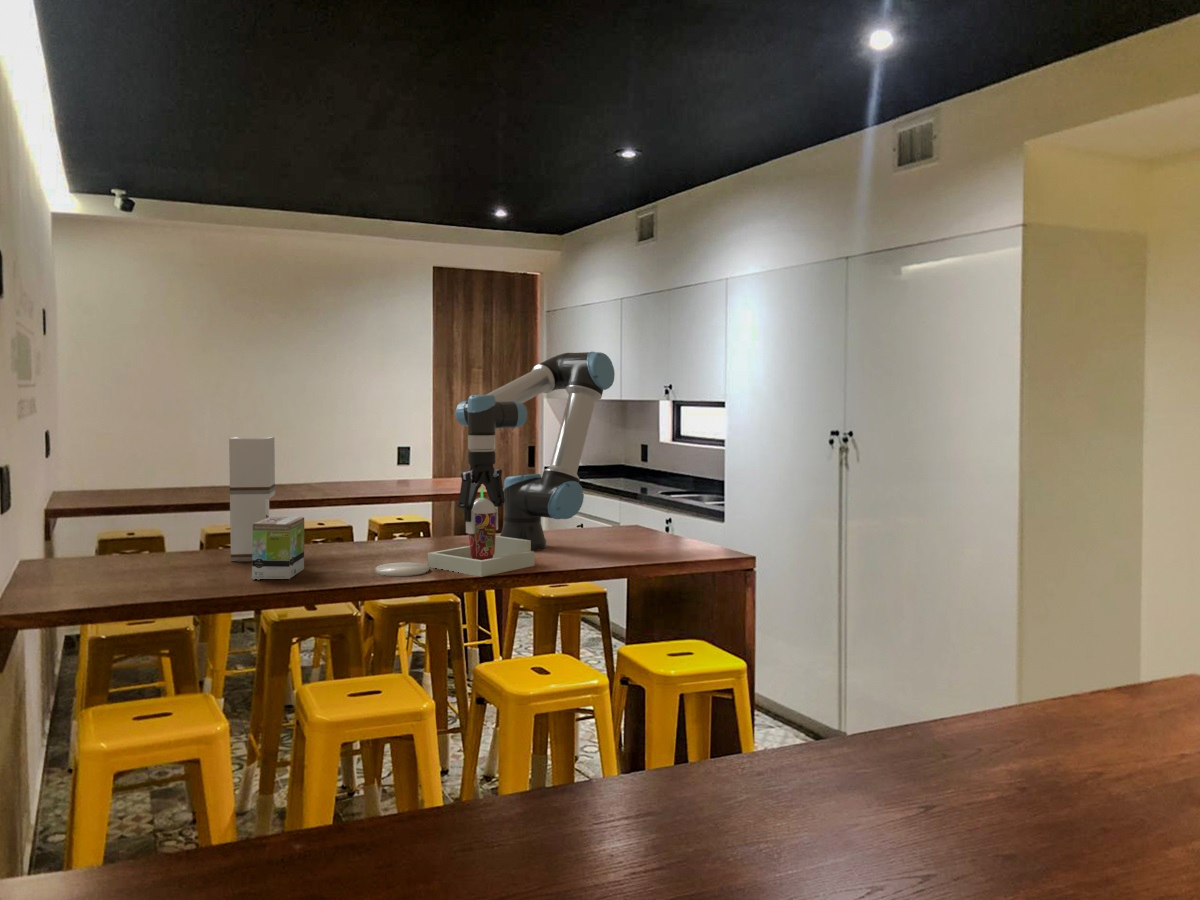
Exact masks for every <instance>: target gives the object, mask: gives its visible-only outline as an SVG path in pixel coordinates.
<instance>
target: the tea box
mask: <svg viewBox="0 0 1200 900" xmlns="http://www.w3.org/2000/svg"><path fill="white" fill-rule="evenodd" d="M304 569H305V517H301V516H299V517H298V516H269V517H268V518H265V519H263V520H260V521H258V522H256V523H253V543H252V561H251V579H252V580H255V579H257V580H258V581H260V579H289V580H290V579H291V578H293V577H294V576H295V575H297V574H299V573H300V572H302V571H303V570H304ZM257 580H256V581H257Z"/></svg>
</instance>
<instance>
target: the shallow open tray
mask: <svg viewBox="0 0 1200 900" xmlns="http://www.w3.org/2000/svg"><path fill="white" fill-rule="evenodd" d="M535 554H536V553H535V551H531V540H523V539H516V538H509V537H502V536H500V535H496V536H495V553H494V555H493V558H491V559H486V560H477V559H472V556H471V555H470V545H468V546H462V547H460V546H459V547H456V548H449V549H442V550H438V551H431V552H427V565H428V566H429V567H431V568H430V569H435V568H437V569H436V570H441V569H443V570H442V571H446V570H449V571H448V572H452V571H454V572H453V573H458V572H459V574H464V575H470V576H476V577H482V578H483V577H487V576H492V575H496V574H500V573H501V574H502V573H505V572H511V571H516V570H520V569H526V568H530V567H535V562H536V561H535V558H536V557H535Z"/></svg>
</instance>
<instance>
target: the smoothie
mask: <svg viewBox="0 0 1200 900" xmlns="http://www.w3.org/2000/svg"><path fill="white" fill-rule="evenodd" d="M472 510H475V534H469V533H468V541H469V543H468V544H469V545H468V546H470V555H471V556H472V559H477V560H486V559H491V558H493V555H494V553H495V536H497V535H496V532H497V530H496V518H497V510H496V508H495V506H494V504H493V503H492V501H490V499H489V498H486V497H484V487H480V497H477V498H476V499H475V502H474V505H473V508H472Z"/></svg>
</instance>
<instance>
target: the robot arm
mask: <svg viewBox="0 0 1200 900" xmlns="http://www.w3.org/2000/svg"><path fill="white" fill-rule="evenodd" d="M615 375H616V374H615V368H614V365H613V362H612V360H611V358H610V357H609V356H608V355H607V354H605V353H604V352H600V351H599V352H598V351H597V352H595V351H590V352H588V351H587V352H586V351H585V352H564V353H559V354H557V355H555V356H552V357H550V358H548V359H546V360H545V361H542V362H540V363H538V364H536V365H534V366H533V367H532V369H531V371H530V372H528V373H525V374H524V375H522V376H519V377H518V378H516V379H514V380H512V381H510V382H508V383H505V384H504V385H502V386H500V387H498V388H496V389H494V390H492V391H491V392H488V393H487V394H472V395H470V396H469V397H468V400H464V401H463V400H462V401H461V402H459V403H458V404H457V406H456V408H455V414H454V415H455V419H456V421H457V423H459V424H460V425H461V426H464V427H467V441H468V443H467V445H468V446H467V448H468V450H469V451H468V452H467V464H468V465H469V470H468V471H462V472H461V473H460V477H461V482H460V483H461V484H460V492H459V499H458V509H461V510H463V511H464V522H465V533H466V534H468V535H469V534H475V510H472V508H473V505H474V502H475V500H476V499H477V495H478V493H479V489H481V488H482V487H481V486H482V485H483V486H484V487H485V490H486V493H487V496H488V499H489V500H490V501H492V503H493V504H494V506H495V508H496V510H497V518H496V531H498V530H499V517H500V507H502V506H503V525H502V529H501V532H500V535H499V536H502V537H509V538H516V539H523V540H531V551H534V552H535V551H542V550H544V549H546V548H547V539H546V538H545V533H544V530H543V527H542V526H543V525H542V518H547V519H548V518H549V519H555V520H568V519H572V518H573V517H574V516H576V515H577V514H578V513H579V511H580V510H581V508H582V506H583V503H584V498H585V497H584V493H583V492H584V489H583V487H582V485H581V484H580V481H581V479H580V477H579V475H578V469H579V467H580V463H581V459H582V455H583V451H584V447H585V443H586V441H587V440H586V439H587V435H588V432H589V428H590V423H591V420H592V416H593V412H594V408H595V404H596V402H597V401H599V400H601V399H602V398H603V392H604V391H606V390H608V389H610V388H611V387H612V386H613V384H614V381H615ZM557 390H565V391H566V393H567V394H568V398H567V400H566V401H567V402H566V405H565V409H564V412H563V416H562V419H561V423H560V428H559V432H558V434H557V439H556V442H555V446H554V449H553V453H552V456H551V457H552V458H551V460H550V461H551V462H550V465H549V466H548V467H547V468H545V469H544V470H543V472H542V475H541V474H540V473H532V474H531V473H530V474H524V475H523V474H521V475H511V476H510V475H509V476H507V477H505V479H504V481H503V480H502V479H503V478H502V475H503V470H502V469H501V468H499V469H497V468H495V467H494V465H495V464H496V452H495V449H496V429H505V428H506V429H515V428H521V427H522V426H523V425H525V424H526V422H527V418H528V409H527V407H526V406H525V404H524V403H526V402H528V401H530V400H531V399H533V398H534V397H536V396H539V395H540V394H549V393H551V392H553V391H557Z"/></svg>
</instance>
